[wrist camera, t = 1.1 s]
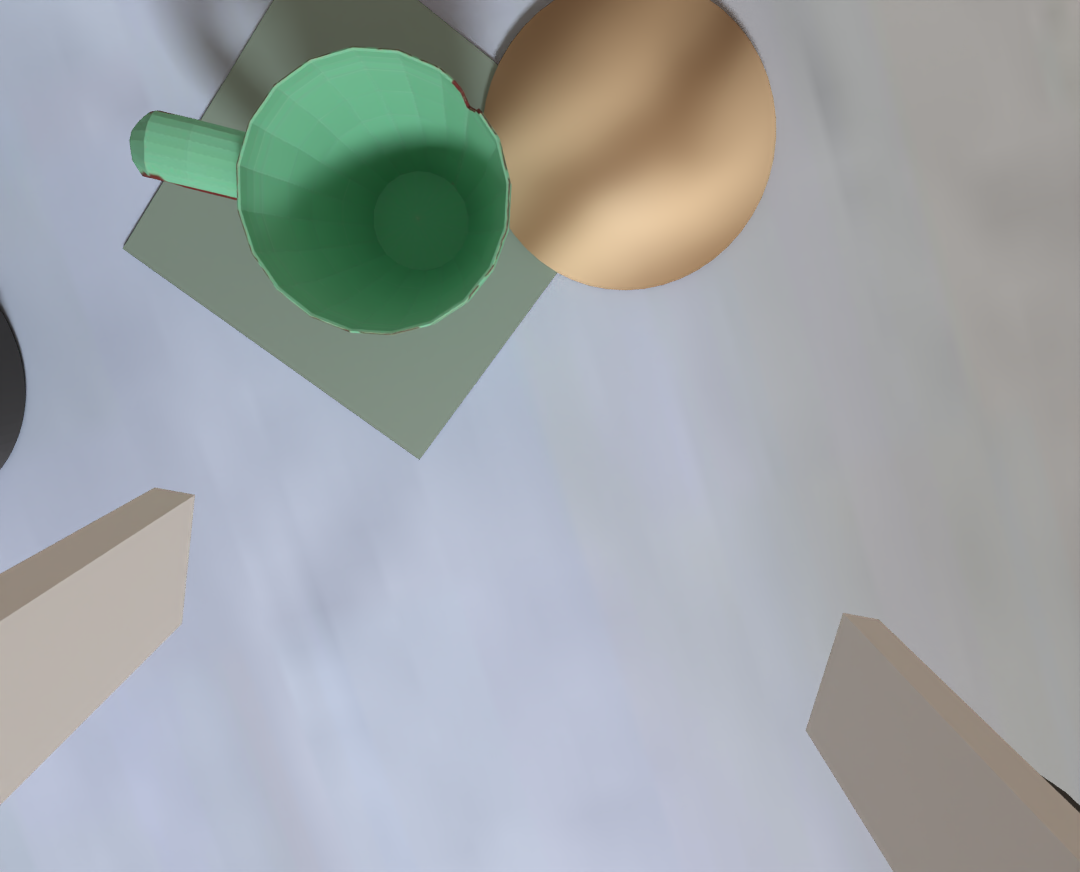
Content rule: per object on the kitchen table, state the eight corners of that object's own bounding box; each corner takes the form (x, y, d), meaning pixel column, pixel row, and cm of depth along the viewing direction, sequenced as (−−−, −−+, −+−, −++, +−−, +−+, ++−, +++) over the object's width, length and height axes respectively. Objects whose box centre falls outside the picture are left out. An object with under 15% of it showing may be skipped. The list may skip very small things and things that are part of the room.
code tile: (124, 248, 35) (122, 248, 35) (322, -77, 32) (321, -79, 32) (419, 458, 37) (419, 459, 37) (630, 172, 34) (630, 172, 34)
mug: (541, 141, 34) (538, 82, 24) (498, 341, 36) (480, 362, 26) (239, 70, 33) (111, -21, 24) (213, 277, 35) (85, 273, 26)
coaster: (425, 172, 34) (424, 170, 34) (602, -87, 32) (603, -94, 31) (649, 345, 36) (651, 346, 35) (832, 111, 34) (837, 108, 33)
